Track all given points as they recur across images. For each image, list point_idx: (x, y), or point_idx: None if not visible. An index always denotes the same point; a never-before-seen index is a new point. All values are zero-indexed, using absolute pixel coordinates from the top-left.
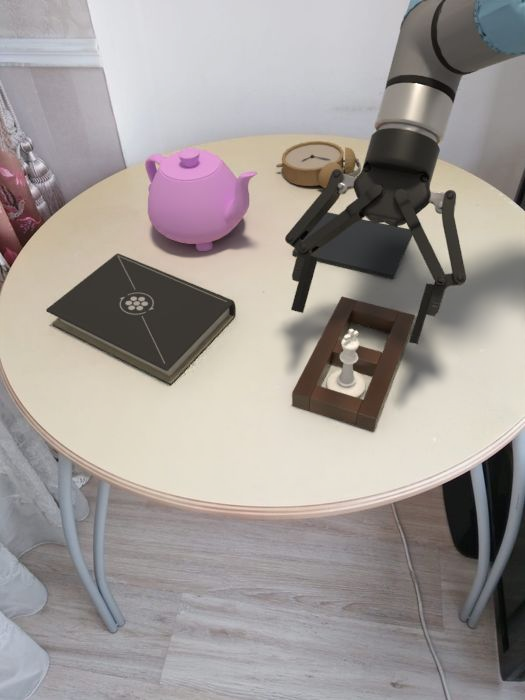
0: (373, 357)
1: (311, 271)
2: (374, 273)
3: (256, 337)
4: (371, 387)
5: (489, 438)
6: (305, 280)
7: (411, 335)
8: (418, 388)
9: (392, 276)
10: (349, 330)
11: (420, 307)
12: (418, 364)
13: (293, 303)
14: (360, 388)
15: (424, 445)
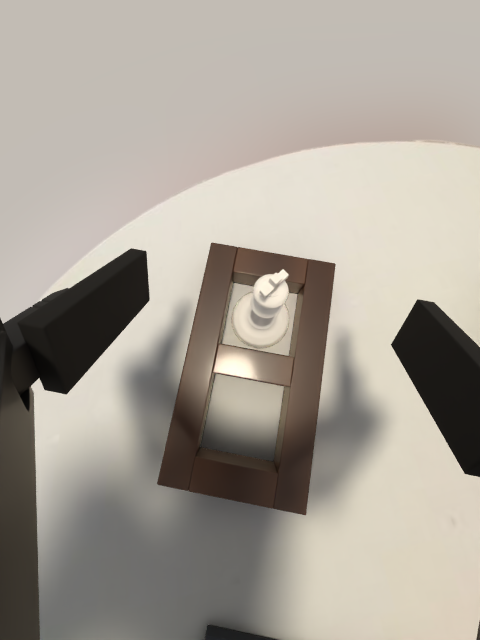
0: (225, 356)
1: (458, 406)
2: (247, 637)
3: (419, 394)
4: (223, 295)
5: (70, 274)
6: (463, 349)
7: (138, 256)
8: (158, 338)
9: (208, 631)
10: (280, 276)
11: (97, 285)
12: (157, 386)
13: (440, 311)
14: (239, 310)
15: (151, 249)
